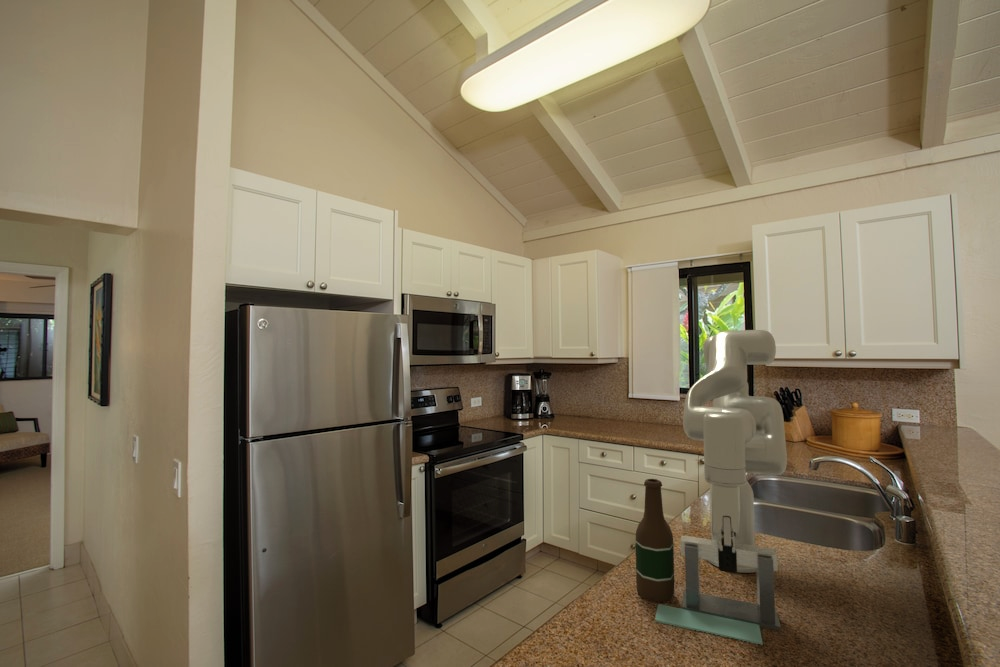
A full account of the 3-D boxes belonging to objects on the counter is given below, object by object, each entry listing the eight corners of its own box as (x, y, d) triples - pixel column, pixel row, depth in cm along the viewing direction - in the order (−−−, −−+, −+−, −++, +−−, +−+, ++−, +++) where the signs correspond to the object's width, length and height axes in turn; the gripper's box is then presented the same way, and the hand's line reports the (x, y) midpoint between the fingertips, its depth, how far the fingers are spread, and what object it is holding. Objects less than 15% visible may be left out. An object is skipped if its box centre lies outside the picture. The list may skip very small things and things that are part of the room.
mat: (658, 605, 93) (658, 603, 93) (759, 626, 86) (759, 624, 86) (655, 621, 88) (655, 619, 88) (762, 645, 81) (762, 643, 81)
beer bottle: (677, 605, 93) (675, 486, 94) (638, 601, 95) (635, 484, 96) (671, 586, 101) (669, 476, 102) (635, 583, 103) (632, 474, 104)
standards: (683, 593, 98) (682, 534, 98) (775, 611, 91) (773, 548, 91) (681, 610, 92) (680, 547, 92) (780, 631, 85) (778, 562, 85)
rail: (681, 549, 97) (681, 535, 97) (775, 564, 90) (774, 548, 90) (681, 555, 94) (680, 540, 94) (777, 571, 87) (777, 555, 87)
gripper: (704, 463, 101) (706, 548, 101) (704, 483, 86) (706, 582, 86) (742, 466, 98) (745, 554, 98) (749, 487, 83) (752, 590, 83)
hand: (727, 566), depth 92 cm, fingers closed on rail, 3 cm apart
